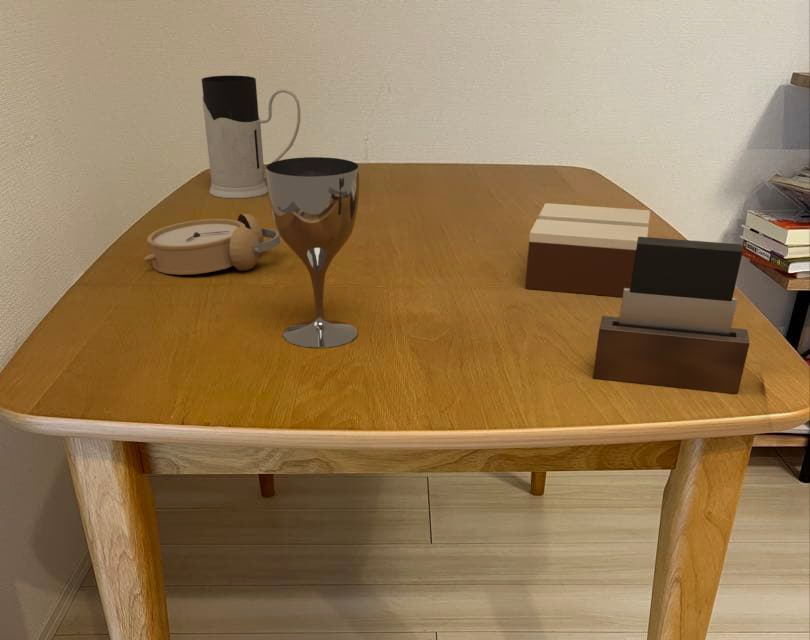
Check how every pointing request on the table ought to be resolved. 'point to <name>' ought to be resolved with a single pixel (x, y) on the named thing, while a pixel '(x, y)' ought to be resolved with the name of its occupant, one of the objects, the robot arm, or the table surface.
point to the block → (670, 357)
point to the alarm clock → (209, 245)
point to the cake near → (582, 257)
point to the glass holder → (236, 136)
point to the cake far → (595, 215)
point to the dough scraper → (682, 286)
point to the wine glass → (315, 230)
